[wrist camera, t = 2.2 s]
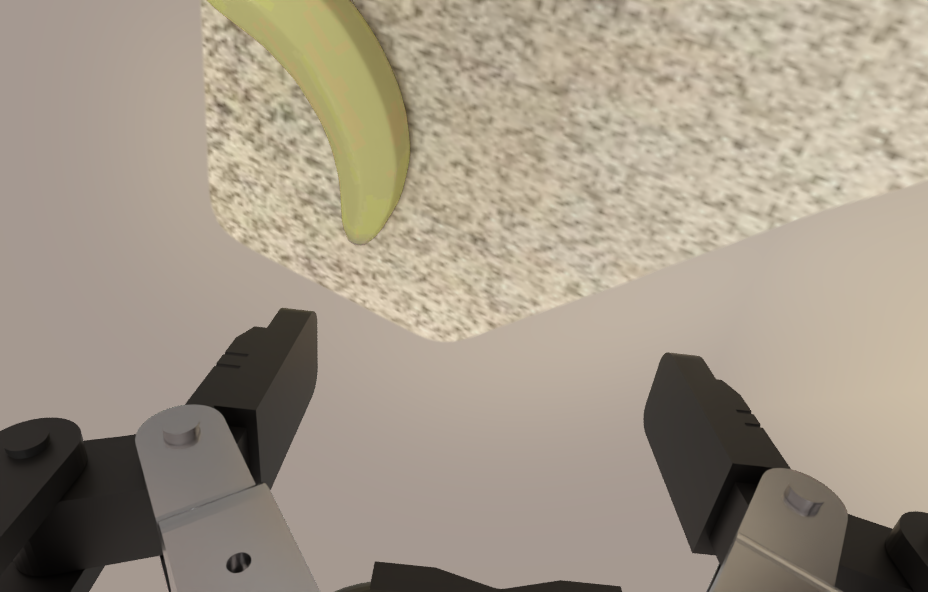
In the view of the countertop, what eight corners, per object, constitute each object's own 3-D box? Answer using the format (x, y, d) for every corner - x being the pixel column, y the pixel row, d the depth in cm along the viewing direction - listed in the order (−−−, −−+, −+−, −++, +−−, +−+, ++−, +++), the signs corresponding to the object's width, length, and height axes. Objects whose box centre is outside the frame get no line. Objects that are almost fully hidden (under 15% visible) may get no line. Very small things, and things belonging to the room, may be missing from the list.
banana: (479, 73, 33) (182, -144, 31) (458, 97, 29) (108, -154, 26) (382, 231, 41) (139, 71, 38) (354, 269, 37) (76, 90, 34)
